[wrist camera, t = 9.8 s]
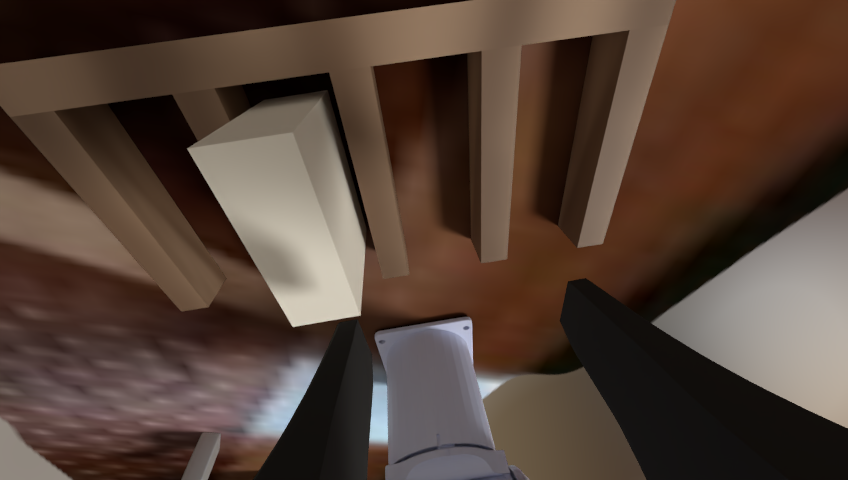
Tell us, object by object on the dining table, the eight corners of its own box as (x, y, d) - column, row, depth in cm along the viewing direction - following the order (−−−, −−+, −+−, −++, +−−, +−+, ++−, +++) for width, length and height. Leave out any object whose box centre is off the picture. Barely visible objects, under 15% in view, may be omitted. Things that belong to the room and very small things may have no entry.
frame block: (366, 228, 19) (360, 315, 13) (319, 236, 19) (292, 326, 13) (327, 89, 14) (292, 131, 9) (264, 99, 14) (186, 148, 8)
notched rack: (637, -21, 13) (684, -29, 11) (580, 222, 20) (602, 243, 18) (34, 61, 12) (-33, 68, 10) (201, 282, 20) (181, 311, 18)
